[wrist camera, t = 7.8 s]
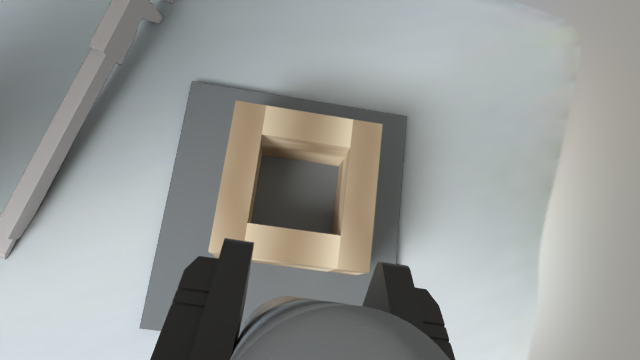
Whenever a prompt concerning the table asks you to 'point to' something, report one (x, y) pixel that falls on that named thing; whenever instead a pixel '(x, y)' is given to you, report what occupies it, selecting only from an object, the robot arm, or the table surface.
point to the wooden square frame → (311, 146)
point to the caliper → (73, 113)
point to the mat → (267, 202)
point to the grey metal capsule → (329, 333)
